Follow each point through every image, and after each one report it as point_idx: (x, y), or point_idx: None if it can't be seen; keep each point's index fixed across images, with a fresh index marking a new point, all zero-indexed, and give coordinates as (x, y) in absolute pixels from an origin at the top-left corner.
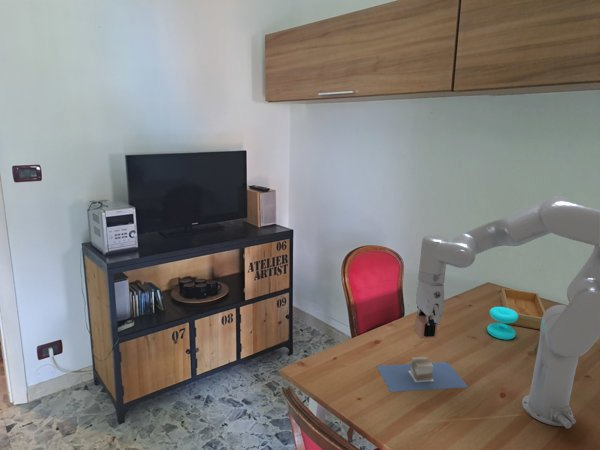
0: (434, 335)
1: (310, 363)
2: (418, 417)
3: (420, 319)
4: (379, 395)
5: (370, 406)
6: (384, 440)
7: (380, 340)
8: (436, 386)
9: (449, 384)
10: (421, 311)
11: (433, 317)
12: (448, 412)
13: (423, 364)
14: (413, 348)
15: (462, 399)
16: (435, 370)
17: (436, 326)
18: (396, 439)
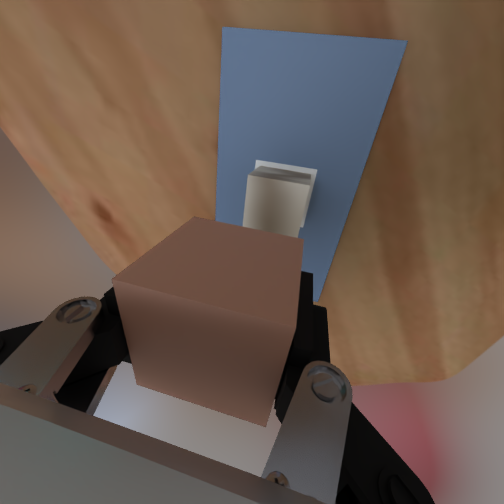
0: (312, 274)
1: None
2: (425, 293)
3: (198, 396)
4: None
5: (340, 348)
6: (440, 376)
7: (94, 200)
8: (345, 178)
9: (355, 122)
10: (79, 370)
11: (278, 453)
12: (460, 213)
13: (290, 216)
14: (125, 118)
15: (440, 121)
16: (264, 123)
17: (297, 303)
18: (452, 361)
